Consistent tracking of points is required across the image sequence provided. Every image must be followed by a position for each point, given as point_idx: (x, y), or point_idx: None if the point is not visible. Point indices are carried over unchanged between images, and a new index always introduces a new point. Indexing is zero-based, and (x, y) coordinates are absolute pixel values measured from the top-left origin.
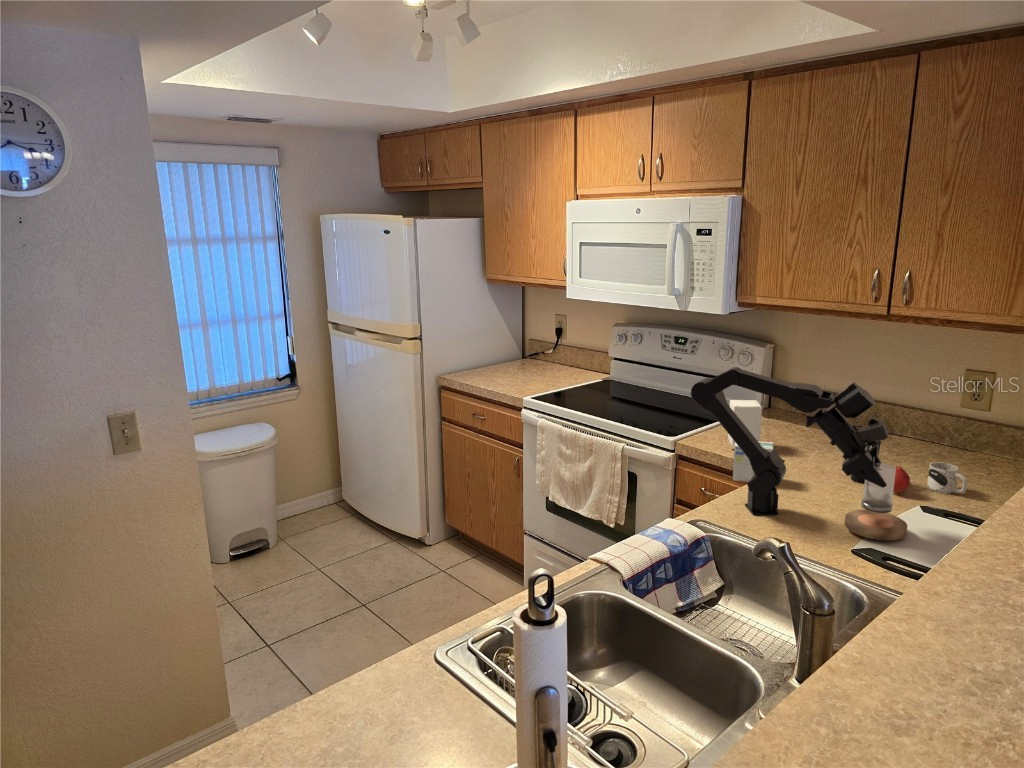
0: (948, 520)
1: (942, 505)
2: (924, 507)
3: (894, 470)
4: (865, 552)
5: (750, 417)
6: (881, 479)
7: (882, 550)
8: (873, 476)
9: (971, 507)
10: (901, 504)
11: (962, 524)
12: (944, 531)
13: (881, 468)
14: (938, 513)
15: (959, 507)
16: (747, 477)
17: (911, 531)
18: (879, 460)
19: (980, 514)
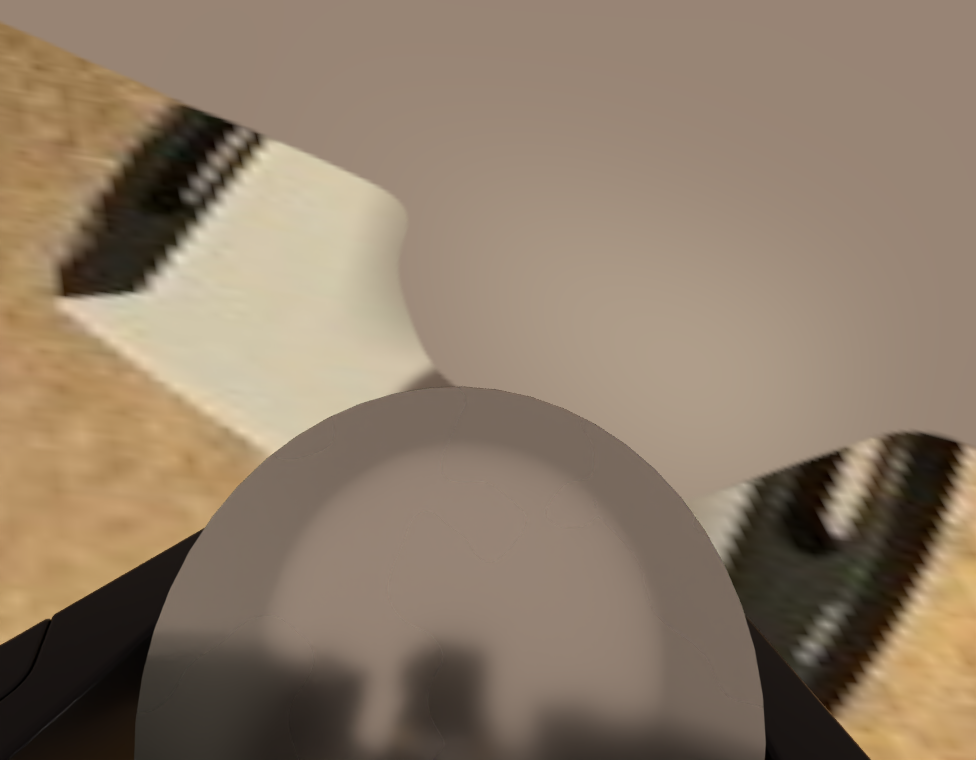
0: (230, 206)
1: (43, 201)
2: (79, 278)
3: (569, 420)
4: (784, 635)
5: None
6: (774, 659)
7: (714, 541)
8: None
9: (55, 101)
10: (48, 378)
11: (265, 163)
12: (368, 239)
13: (535, 684)
14: (150, 231)
15: (61, 142)
16: None
17: (413, 375)
18: (32, 705)
19: (134, 85)
